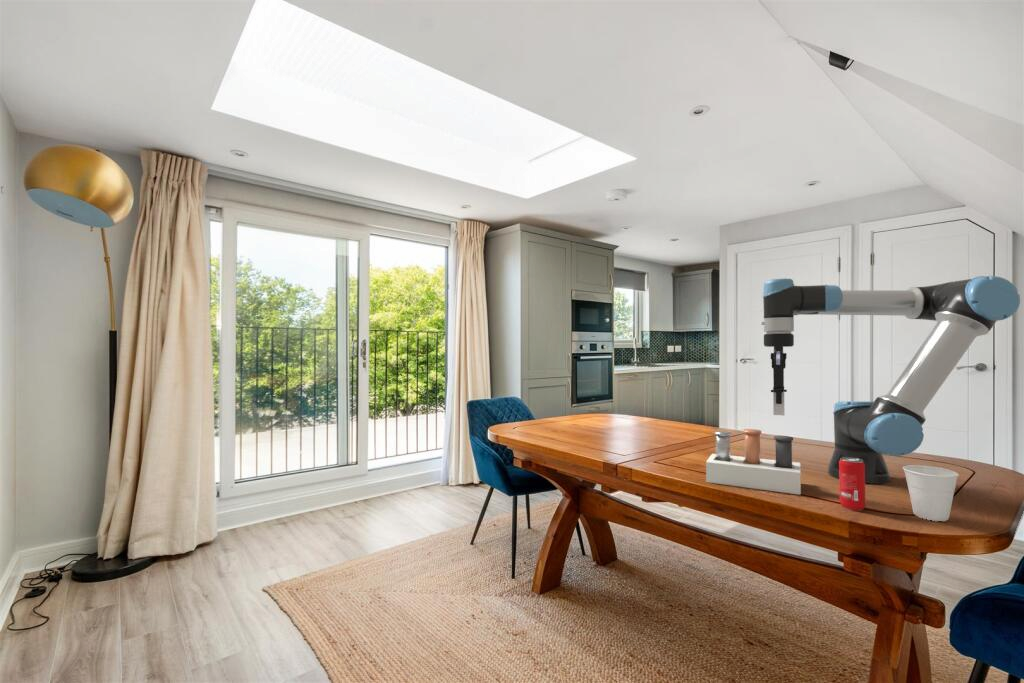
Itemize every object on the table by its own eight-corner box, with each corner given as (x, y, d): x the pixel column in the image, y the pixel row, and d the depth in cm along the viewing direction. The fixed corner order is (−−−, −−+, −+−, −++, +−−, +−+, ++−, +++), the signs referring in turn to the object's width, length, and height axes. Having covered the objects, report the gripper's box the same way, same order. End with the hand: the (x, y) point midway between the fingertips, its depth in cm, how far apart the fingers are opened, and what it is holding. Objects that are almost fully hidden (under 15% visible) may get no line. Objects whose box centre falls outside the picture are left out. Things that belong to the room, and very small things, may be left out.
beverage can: (834, 504, 119) (833, 457, 119) (853, 503, 120) (852, 456, 120) (851, 511, 114) (850, 462, 114) (870, 510, 114) (870, 461, 114)
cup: (914, 522, 107) (913, 474, 107) (896, 507, 116) (895, 463, 116) (969, 527, 103) (968, 478, 103) (946, 512, 113) (945, 466, 113)
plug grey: (732, 463, 143) (732, 431, 143) (730, 466, 139) (730, 434, 139) (716, 461, 146) (715, 430, 146) (713, 464, 142) (713, 433, 142)
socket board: (800, 483, 137) (800, 462, 137) (800, 494, 127) (800, 472, 127) (712, 472, 150) (712, 453, 150) (706, 482, 139) (705, 461, 139)
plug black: (793, 469, 135) (793, 436, 135) (793, 473, 131) (793, 439, 131) (774, 467, 137) (774, 435, 137) (774, 471, 133) (773, 437, 133)
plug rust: (762, 462, 139) (761, 429, 139) (761, 465, 135) (760, 432, 135) (744, 460, 141) (743, 428, 141) (742, 463, 137) (742, 431, 137)
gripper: (764, 333, 142) (765, 411, 142) (762, 332, 131) (762, 417, 131) (793, 333, 138) (794, 412, 138) (793, 332, 127) (794, 419, 127)
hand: (778, 414), depth 134 cm, fingers closed
